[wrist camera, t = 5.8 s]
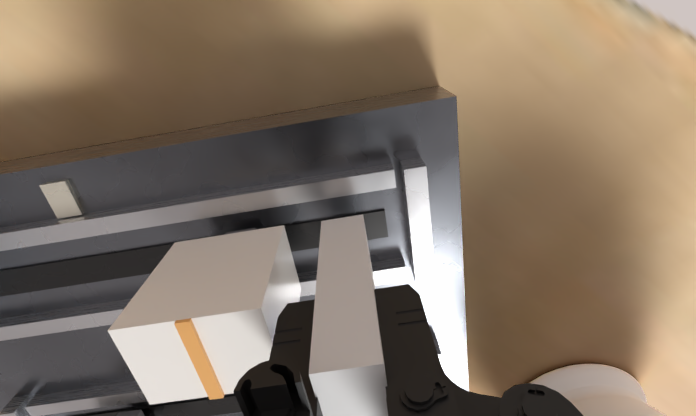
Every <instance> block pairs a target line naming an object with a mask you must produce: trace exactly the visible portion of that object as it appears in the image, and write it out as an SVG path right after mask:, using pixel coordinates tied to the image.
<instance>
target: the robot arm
mask: <svg viewBox="0 0 696 416" xmlns="http://www.w3.org/2000/svg"><path fill="white" fill-rule="evenodd" d="M272 344H273V346H272V348H271V353H270V358H269V360H268V361H265V362H262V363H259V364H258V365H256V366H254V367H253V368H251V369H249V370H248V371H247V372H246V373H245V374H244V375H243V376H242V377H241V378H240V379H239V381H238V383H237V385H236V387H235V389H234V391H233V392H234V394H235V397H236V399H237V401H238V404H239V406H240V408H241V411H242V413H243V415H244V416H583V415H582V413H581V412H580V411H579V410H578V409H577V408H576V407H575V406H574V405H573V404H572V403H571V402H570V401H569V400H568V399H566V398H565V397H564V396H563V395H561V394H560V393H559V392H557V391H555V390H553V389H551V388H548V387H546V386H544V385H538V384H531V383H525V384H520V385H515V386H513V387H511V388H510V389H508V390H507V391H505V392H504V394H503V396H502V398H500V397H494V396H487V395H481V394H477V393H473V392H469V391H467V390H465V389H463V388H461V387H459V386H457V385H456V384H455V383H453V382H452V381H451V380H450V379H449V378H448V376H447V375H446V374H445V372H444V370H443V368H442V366H441V363H440V360H439V356H438V353H437V350H436V346H435V343H434V340H433V337H432V333H431V330H430V327H429V324H428V321H427V317H426V314H425V311H424V307H423V304H422V301H421V298H420V294H419V293H417V292H416V291H415V290H414V289H413V288H412V287H411V286H410V285H409V284H405V285H399V286H392V287H386V288H379V289H375V283H374V276H373V270H372V264H371V258H370V253H369V247H368V241H367V235H366V229H365V223H364V217H363V214H362V215H356V216H350V217H343V218H337V219H331V220H325V221H321V231H320V243H319V255H318V267H317V279H316V291H315V299H314V300H307V301H301V302H294V303H288V304H287V305H286V306H285V308H284V309H283V310H282V312H281V313H280V315H279V316H278V319H277V324H276V329H275V334H274V338H273V343H272Z"/></svg>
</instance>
